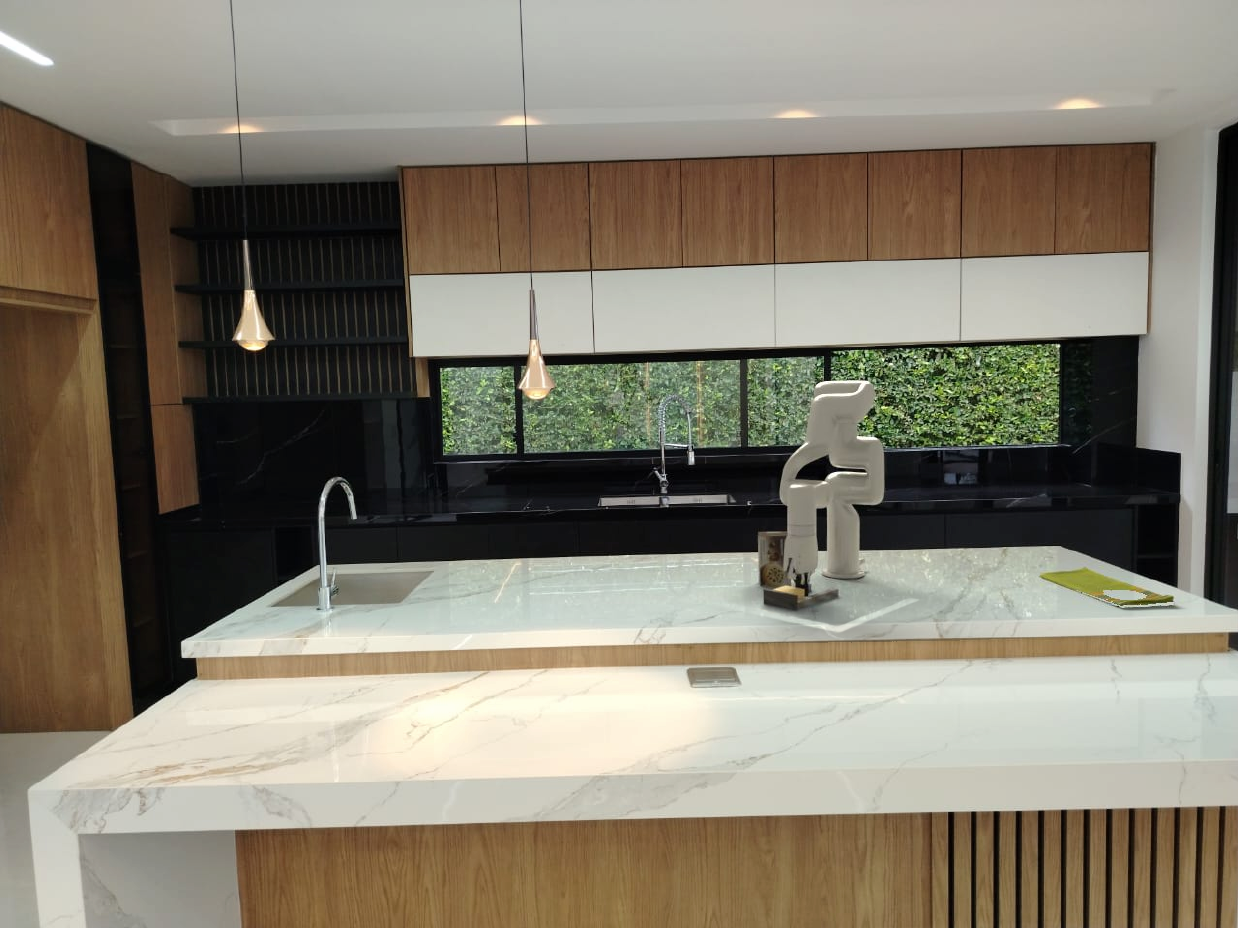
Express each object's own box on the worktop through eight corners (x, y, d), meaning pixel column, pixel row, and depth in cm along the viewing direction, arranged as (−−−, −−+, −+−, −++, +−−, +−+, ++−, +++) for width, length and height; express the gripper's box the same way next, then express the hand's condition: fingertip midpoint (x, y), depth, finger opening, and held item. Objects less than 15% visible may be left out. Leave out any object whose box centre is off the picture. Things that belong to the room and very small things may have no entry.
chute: (800, 592, 243) (800, 574, 243) (844, 601, 233) (844, 582, 233) (757, 607, 230) (757, 588, 229) (802, 617, 220) (802, 597, 219)
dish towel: (1121, 611, 221) (1122, 599, 220) (1037, 578, 256) (1038, 568, 256) (1176, 608, 222) (1177, 596, 222) (1085, 576, 258) (1086, 565, 257)
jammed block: (785, 599, 231) (785, 585, 231) (804, 603, 227) (804, 589, 227) (772, 604, 227) (772, 589, 227) (791, 608, 223) (791, 593, 223)
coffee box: (789, 585, 253) (789, 531, 251) (791, 590, 246) (791, 535, 245) (757, 585, 254) (757, 531, 252) (759, 590, 247) (759, 535, 245)
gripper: (805, 525, 237) (805, 590, 239) (773, 532, 227) (773, 600, 229) (829, 528, 232) (829, 594, 234) (797, 536, 222) (797, 605, 224)
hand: (801, 597), depth 231 cm, fingers closed
